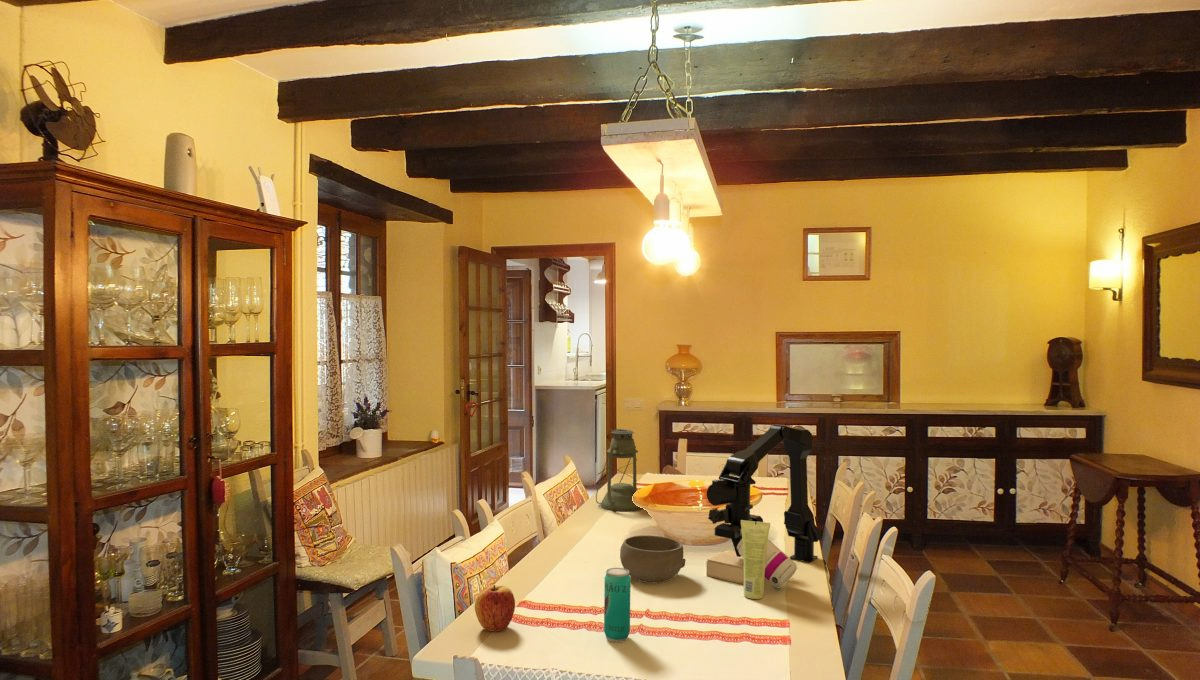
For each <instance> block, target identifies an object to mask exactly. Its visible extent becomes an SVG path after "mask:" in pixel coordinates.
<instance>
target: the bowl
mask: <svg viewBox="0 0 1200 680" xmlns="http://www.w3.org/2000/svg"><path fill="white" fill-rule="evenodd" d="M619 558H620V563H621V565H622V568H624V569H627V570H629V576H630V578H632V579H635V580H637V581H639V582H644V583H649V584H650V583H651V584H656V583H664V582H667V581H670V580H672V579H674V578H675V577H676V576H677V575H678V573H680V570H681V569H682V568H684V567H685V565H686V558H684V546H683V543H682V542H680V540H677V539H674V538H671V537H666V536H662V535H661V536H659V535H647V534H645V535H641V534H640V535H635V536H629V537H627V538H625V539H624V540H623V542H622V544H621V546H620V550H619Z"/></svg>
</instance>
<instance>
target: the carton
mask: <svg viewBox="0 0 1200 680" xmlns="http://www.w3.org/2000/svg"><path fill="white" fill-rule="evenodd" d="M705 572H706V573H705V574H706V577H711V578H714V579H719V580H723V581H728V582H732V583H736V584H740V585H744V559H739V558H735V557H730V556H725V555H720V553H719V554H716V555H714V556H711V557H710V558H708V559H707V560H706V571H705ZM764 580H767V579H766V578H765V577H764Z"/></svg>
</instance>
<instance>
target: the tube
mask: <svg viewBox="0 0 1200 680" xmlns="http://www.w3.org/2000/svg"><path fill="white" fill-rule="evenodd" d="M741 528H742V539H743V559H744V584H743V595H744V597H745V598H747V599H752V600H758V599H759V600H761V599H763V598H764V590H765V589H764V587H765V586H764V585H765V579H764V575H765V562H766V551H767V542H768V539H769V535H770V534H769V533H770V528H771V522H766V521H763V522H755V521H745V520H741Z"/></svg>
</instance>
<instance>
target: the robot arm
mask: <svg viewBox="0 0 1200 680" xmlns="http://www.w3.org/2000/svg"><path fill="white" fill-rule="evenodd" d="M781 442H782V443H783V449H784V451H785V452H786V454H787V456H788V458H789V459H788V460H789V482H790V506H789V507H788V509H787V510H784V513H783V516H784V518H783V524H784V525H785V529H786V532H787V536H788V537H791V538H793V539H794V540H793V541H794V542H793V543H794V545H793V546H794V547H793V548H794V549H793V555H792V554H791V556H789V558H790V559H791V560H793V561H794V560H795V561H801V562H806V563H812V562H813V561H816V560H817V559H818V558H819V557H818V555H814V553H815V552H814V551H815V543H818V542H819V541H821V537H822V532H821V530H820V529H819V528H818V527H817V525H816V522H815V516H814V513H813V512H812V510H811V508H810V506H809V498H808V497H809V496H808V495H809V493H808V464H807V463H808V462H807V461H808V457H809V455H810V453H811V451H812V449H813V434H812V432H811V431H810V430H808V429H806V428H799V427H798V428H797V427H789V426H787V425H785V424H778V423H774V424H771V425H770V427H769V428H768V430H767V431H765V432H764V433H763V434H762V435H761V436H760V437H759V438H758V439H756V440H755V441H754V442H752V443H751V445H750V446H749V447H747V448H745V449H743V450H740V451H739V450H738V451H737V452H735V453H733V454H731V455H730V456H729V457H727V459H726V462H725V464H724V467H723V468H722V470H721V472H720V475H719V477H718V479H712V481H711V484H710V485H709V486H708V487H707V491H706V497H707V498H706V499H707V501H708V503H710V504H711V505H712V506H713V507H714V506H720V505H721V506H722V505H725V504H726V505H725V508H722V509H718V508H713V509H709V511H708V520H709V521H711V522H712V524H713V525H715V524H717V523H720V522H723V523H720V524H718V525H716V526H715V527H714V529H713V530H714V536H716V537H720V538H725V539H731V542H732V544H733V545H732V546H733V549H734V552H736V555H737V557H741V555H740V554H739V552H738V549H737V545H738V543H739V542H740V541H741V539H742V528H741V520H745V521H755V522H764V519H763V517H762V516H761V515H758V514H757V515H755V514H751V509H753V507H754V505H753V504H751V485H755V484H756V483H757V482H756V480H755V479H753V478H752V476H753V475H754V474H755V473H756V471H757V470H758V469H759V466H760V465H759V463H760V462H761V461H762V459H764V458H765V457H766V456H767V455H768V454H769V453H770V452H771V451H773V450H774V449H775V448H776V447H778V445H779V444H780V443H781Z"/></svg>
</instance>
